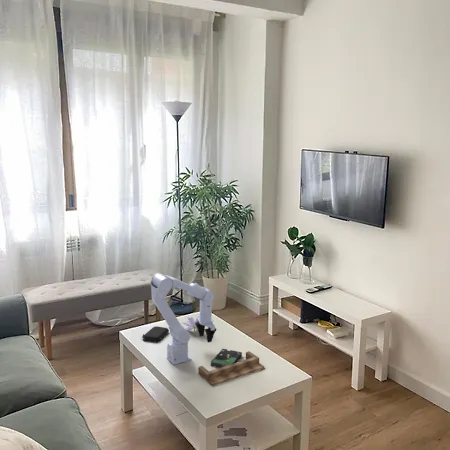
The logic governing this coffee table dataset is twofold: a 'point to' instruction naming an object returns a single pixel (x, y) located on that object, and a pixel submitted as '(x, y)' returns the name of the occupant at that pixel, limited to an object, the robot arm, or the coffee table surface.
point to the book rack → (231, 370)
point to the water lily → (191, 324)
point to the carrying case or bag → (155, 334)
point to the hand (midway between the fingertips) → (205, 339)
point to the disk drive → (226, 358)
